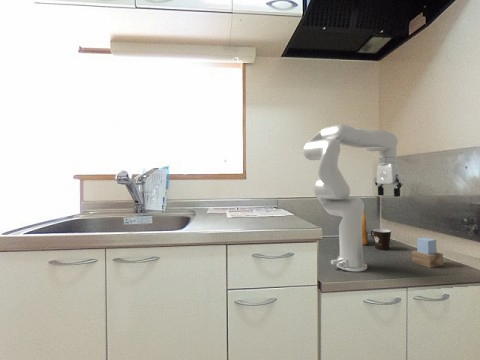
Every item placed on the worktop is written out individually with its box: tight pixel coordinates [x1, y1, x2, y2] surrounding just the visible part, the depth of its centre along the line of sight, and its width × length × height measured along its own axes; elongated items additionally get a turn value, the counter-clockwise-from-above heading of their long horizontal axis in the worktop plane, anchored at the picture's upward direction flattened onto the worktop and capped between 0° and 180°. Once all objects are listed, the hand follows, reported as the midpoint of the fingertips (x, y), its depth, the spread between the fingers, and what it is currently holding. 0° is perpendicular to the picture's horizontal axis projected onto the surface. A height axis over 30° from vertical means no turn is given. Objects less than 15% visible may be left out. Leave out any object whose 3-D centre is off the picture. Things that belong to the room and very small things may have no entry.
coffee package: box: [362, 209, 369, 246], centre depth 154 cm, size 10×12×22 cm
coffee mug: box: [370, 228, 392, 251], centre depth 144 cm, size 12×9×10 cm
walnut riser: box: [411, 250, 444, 268], centre depth 117 cm, size 8×8×5 cm
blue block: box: [416, 237, 438, 255], centre depth 117 cm, size 5×5×6 cm
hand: (388, 195), depth 130 cm, fingers open, 9 cm apart
